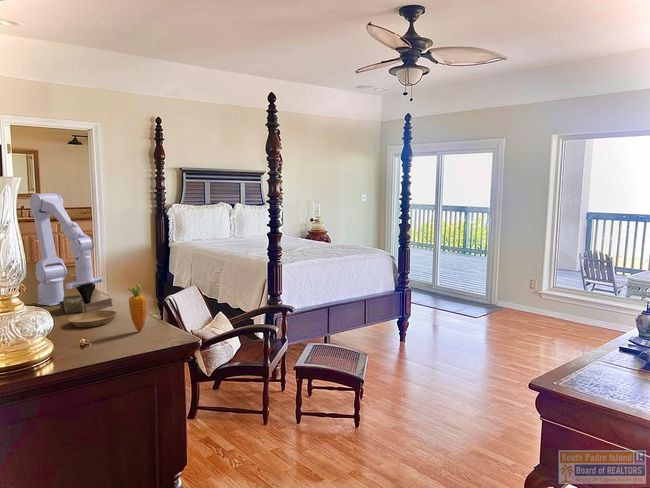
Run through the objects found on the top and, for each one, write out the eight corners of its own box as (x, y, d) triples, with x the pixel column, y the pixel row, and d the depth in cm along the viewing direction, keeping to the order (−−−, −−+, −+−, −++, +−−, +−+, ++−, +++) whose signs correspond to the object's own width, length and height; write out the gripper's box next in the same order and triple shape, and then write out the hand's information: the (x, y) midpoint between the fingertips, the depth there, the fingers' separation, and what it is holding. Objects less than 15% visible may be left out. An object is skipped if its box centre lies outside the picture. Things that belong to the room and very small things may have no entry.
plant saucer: (70, 332, 150) (69, 324, 150) (67, 322, 162) (66, 314, 162) (120, 324, 158) (120, 316, 157) (113, 315, 170) (113, 308, 170)
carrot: (137, 334, 144) (134, 286, 142) (127, 332, 147) (123, 285, 145) (151, 330, 148) (148, 283, 146) (141, 328, 151) (137, 282, 149)
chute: (60, 309, 180) (59, 301, 180) (86, 302, 190) (85, 295, 190) (86, 312, 174) (85, 304, 173) (112, 306, 183) (111, 298, 183)
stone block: (66, 314, 172) (64, 301, 171) (63, 309, 181) (62, 296, 181) (84, 312, 175) (82, 298, 174) (80, 306, 184) (79, 293, 184)
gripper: (73, 272, 172) (76, 308, 174) (107, 266, 185) (110, 300, 187) (61, 271, 176) (64, 307, 177) (95, 265, 188) (98, 298, 190)
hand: (87, 303), depth 182 cm, fingers closed
